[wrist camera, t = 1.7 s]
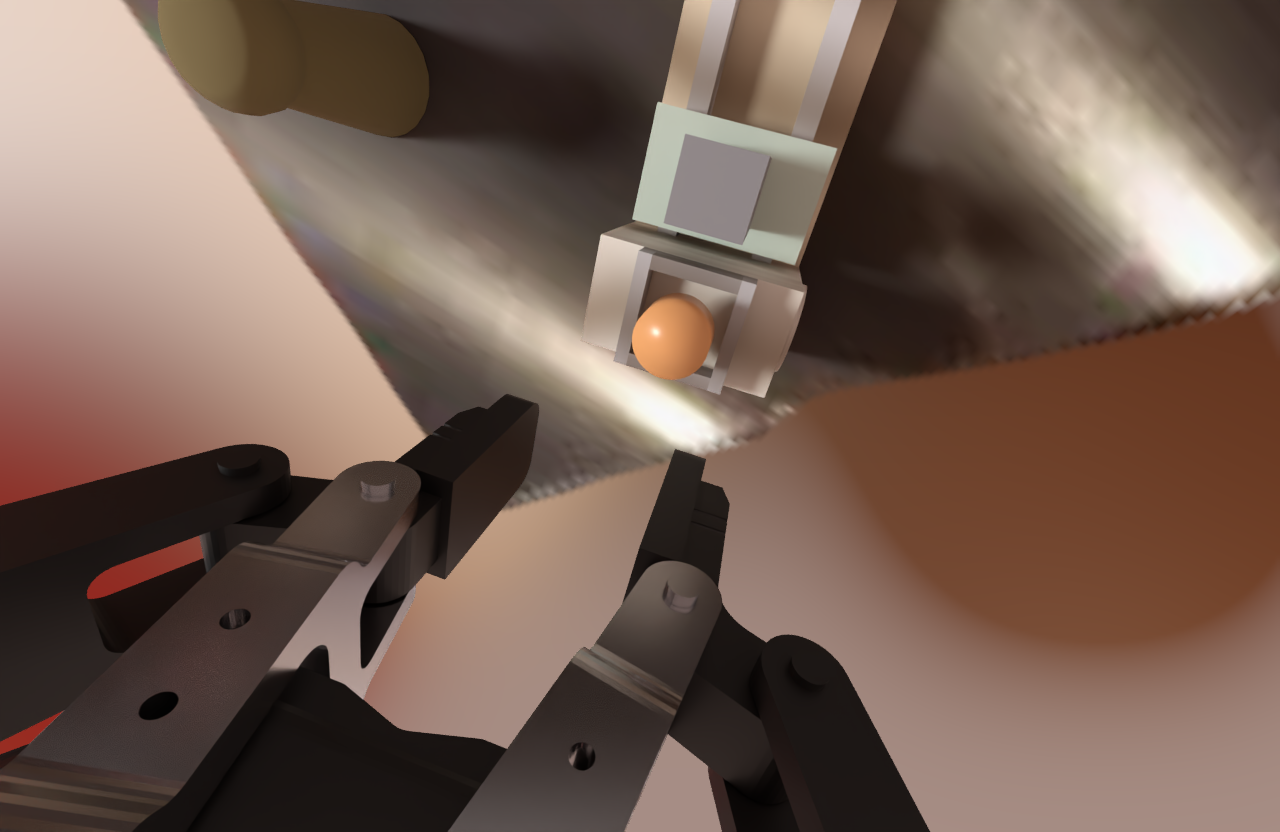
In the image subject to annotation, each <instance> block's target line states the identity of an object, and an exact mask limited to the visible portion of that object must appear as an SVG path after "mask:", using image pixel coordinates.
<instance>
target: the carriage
mask: <svg viewBox="0 0 1280 832" xmlns="http://www.w3.org/2000/svg"><path fill="white" fill-rule="evenodd" d="M836 151H837V148H834V147H830V146H826V145H822V144H818V143H814V142H811V141H807V140H803V139H799V138H795V137H791V136H787V135H783V134H780V133H776V132H772V131H768V130H764V129H760V128H756V127H753V126H749V125H745V124H741V123H737V122H733V121H729V120H725V119H722V118H718V117H714V116H710V115H706V114H702V113H698V112H695V111H691V110H687V109H683V108H679V107H675V106H671V105H667V104H664V103H660V102H658V103H657V108H656V112H655V117H654V121H653V126H652V131H651V135H650V140H649V145H648V149H647V154H646V158H645V163H644V168H643V172H642V177H641V182H640V186H639V191H638V196H637V200H636V205H635V209H634V214H633V220H637V221H640V222H644V223H648V224H651V225H655V226H658V227H662V228H665V229H669V230H672V231H676V232H679V233H683V234H686V235H690V236H693V237H697V238H700V239H704V240H707V241H711V242H715V243H718V244H722V245H725V246H729V247H732V248H736V249H739V250H743V251H746V252H750V253H753V254H757V255H760V256H764V257H767V258H771V259H774V260H778V261H782V262H785V263H789V264H792V265H795V263H796V260H797V258H798V255H799V252H800V249H801V247H802V244H803V241H804V238H805V236H806V233H807V230H808V227H809V225H810V222H811V219H812V217H813V214H814V211H815V208H816V206H817V203H818V200H819V197H820V195H821V192H822V189H823V186H824V184H825V181H826V178H827V175H828V173H829V170H830V167H831V164H832V162H833V159H834V156H835V153H836Z"/></svg>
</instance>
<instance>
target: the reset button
mask: <svg viewBox="0 0 1280 832" xmlns="http://www.w3.org/2000/svg"><path fill="white" fill-rule="evenodd" d="M714 331H715V327H714V321H713V317H712V315H711V313H710V311H709V309H708V308H707V307H706V306H705V304H704V303H702V302H701V301H700V300H699V299H697V298H695V297H694V296H691V295H688V294H684V293H672V294H667V295H664V296H662V297H660V298H659V299H657V300H656V301H655V302H654V303H653V304H652V305H651V306H650V307H649V308H648V309H647V310H646V311H645V312H644V313H643V315H642V316H641V317H640V318H639V319H638V321H637V322H636V325H635V327H634V330H633V334H632V346H633V351H634V354H635V356H636V358H637V360H638V361H639V363H640V364H641V365H642V366H643V368H644V369H646V370H647V371H648V372H649V373H651V374H653V375H655V376H657V377H659V378H663V379H669V380H676V379H682V378H685V377H687V376H690V375H691V374H693V373H694V372H696V371H697V370H698V369H699V368H700V367H701V366H702V364H703V363H704V361H705V359H706V357H707V354H708V352H709V349H710V346H711V344H712V341H713V338H714Z"/></svg>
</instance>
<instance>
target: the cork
mask: <svg viewBox="0 0 1280 832" xmlns="http://www.w3.org/2000/svg"><path fill="white" fill-rule="evenodd" d="M158 22H159V27H160V31H161V36H162V41H163V43H164V45H165V48H166V50H167V52H168V55H169V57H170V60H171V61H172V63H173V64H174V66H175V67H176V69H177V70H178V72H179V73H180V75H181V76H182V78H183V79H184V80H185V81H186V82H187V83H188V84H189V85H190V86H192V87H193V88H194V89H195V90H196V91H197V92H198V93H199V94H200V95H202V96H203V97H204V98H205V99H207V100H209V101H211V102H212V103H214V104H216V105H218V106H219V107H221V108H224V109H226V110H229V111H231V112H234V113H240V114H246V115H254V116H263V115H267V114H271V113H275V112H279V111H282V110H285V109H286V108H289V109H293V110H296V111H299V112H303V113H306V114H309V115H313V116H316V117H319V118H323V119H326V120H329V121H333V122H336V123H339V124H343V125H346V126H350V127H353V128H356V129H360V130H363V131H366V132H370V133H373V134H376V135H381V136H387V137H396V136H400V135H404V134H407V133H408V132H409V131H410V130H412V129H413V128H414V127H416V126H417V125H418V123H419V121H420V120H421V118H422V116H423V115H424V113H425V111H426V106H427V102H428V98H429V74H428V70H427V66H426V63H425V59H424V55H423V53H422V52H421V50H420V48H419V46H418V44H417V42H416V40H415V39H414V37H413V36H412V35H411V34H410V33H409V32H408V31H407V29H406V28H405V27H404V26H403V25H402V24H401V23H400V22H398V21H396V20H394V19H393V18H391V17H389V16H387V15H385V14H379V13H373V12H367V11H360V10H354V9H347V8H341V7H334V6H328V5H321V4H315V3H308V2H302V1H295V0H158Z"/></svg>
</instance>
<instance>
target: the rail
mask: <svg viewBox="0 0 1280 832" xmlns="http://www.w3.org/2000/svg"><path fill="white" fill-rule="evenodd" d="M896 2H897V0H685V1H684V6H683V10H682V15H681V19H680V24H679V28H678V33H677V37H676V42H675V47H674V51H673V56H672V60H671V65H670V69H669V74H668V79H667V83H666V88H665V92H664V97H663V101H662V103H664V104H667V105H671V106H675V107H679V108H683V109H687V110H691V111H695V112H698V113H702V114H706V115H710V116H714V117H718V118H722V119H725V120H729V121H733V122H737V123H741V124H745V125H749V126H753V127H756V128H760V129H764V130H768V131H772V132H776V133H780V134H783V135H787V136H791V137H795V138H799V139H803V140H807V141H811V142H814V143H818V144H822V145H826V146H830V147H834V148H837V151H836V153H835V156H834V159H833V162H832V164H831V167H830V170H829V173H828V175H827V178H826V181H825V184H824V186H823V189H822V192H821V195H820V197H819V200H818V203H817V206H816V208H815V211H814V214H813V217H812V219H811V222H810V225H809V227H808V230H807V233H806V236H805V238H804V241H803V244H802V247H801V249H800V252H799V255H798V258H797V260H796V263H795V265H792V264H789V263H785V262H782V261H778V260H774V259H771V258H767V257H764V256H760V255H757V254H753V253H750V252H746V251H743V250H739V249H736V248H732V247H729V246H725V245H722V244H718V243H715V242H711V241H707V240H704V239H700V238H697V237H693V236H690V235H686V234H683V233H679V232H676V231H672V230H669V229H665V228H662V227H658V226H655V225H651V224H648V223H644V222H640V221H637V220H636V221H635V222H633V223H630V224H627V225H624V226H622V227H619V228H616V229H614V230H611V231H608V232H606V233H603V234H601V238H600V243H599V248H598V254H597V259H596V264H595V269H594V274H593V280H592V285H591V290H590V295H589V300H588V306H587V311H586V316H585V321H584V326H583V332H582V337H581V341H583V342H586V343H589V344H593V345H596V346H599V347H602V348H606V349H609V350H612V351H615V357H614V362H618V363H621V364H624V365H627V366H630V367H634V368H637V369H640V370H643V371H646V372H648V371H647V370H646V369H644V368H643V366H642V365H641V364H640V363H639V361H638V360H637V358H636V356H635V354H634V351H633V346H632V334H633V330H634V327H635V325H636V322H637V321H638V319H639V318H640V317H641V316H642V315H643V313H644V312H645V311H646V310H647V309H648V308H649V307H650V306H651V305H652V304H653V303H654V302H655V301H656V300H657V299H659V298H660V297H662V296H664V295H667V294H672V293H684V294H688V295H691V296H694V297H695V298H697V299H699V300H700V301H701V302H702V303H704V304H705V306H706V307H707V308H708V309H709V311H710V313H711V315H712V317H713V321H714V327H715V331H714V338H713V341H712V344H711V346H710V349H709V352H708V354H707V357H706V359H705V361H704V363H703V364H702V366H701V367H700V368H699V369H698V370H697V371H696V372H694V373H693V374H691V375H690V376H687V377H685V378H682V379H676V380H675V381H678V382H681V383H685V384H688V385H691V386H694V387H697V388H701V389H704V390H707V391H710V392H713V393H717V394H720V392H721V389H722V386H723V385H724V386H728V387H731V388H734V389H737V390H740V391H744V392H747V393H750V394H753V395H757V396H760V397H763V398H764V397H765V394H766V392H767V389H768V387H769V384H770V381H771V379H772V376H773V373H774V371H775V372H777V371H778V370H779V368H780V366H781V365H782V363H783V361H784V359H785V356H786V354H787V352H788V349H789V347H790V345H791V342H792V339H793V337H794V334H795V331H796V328H797V325H798V322H799V319H800V316H801V313H802V310H803V306H804V302H805V298H806V293H807V285H804V284H802V280H801V275H800V270H799V265H800V263H801V260H802V257H803V254H804V252H805V249H806V246H807V244H808V241H809V238H810V236H811V233H812V230H813V227H814V225H815V222H816V219H817V217H818V214H819V211H820V208H821V206H822V203H823V200H824V198H825V195H826V192H827V189H828V187H829V184H830V181H831V179H832V176H833V173H834V170H835V168H836V165H837V162H838V160H839V157H840V154H841V151H842V149H843V146H844V143H845V141H846V138H847V135H848V132H849V130H850V127H851V124H852V122H853V119H854V116H855V114H856V111H857V108H858V105H859V103H860V100H861V97H862V95H863V92H864V89H865V86H866V84H867V81H868V78H869V76H870V73H871V70H872V67H873V65H874V62H875V59H876V57H877V54H878V51H879V48H880V46H881V43H882V40H883V38H884V35H885V32H886V29H887V27H888V24H889V21H890V19H891V16H892V13H893V10H894V8H895V5H896Z"/></svg>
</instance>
